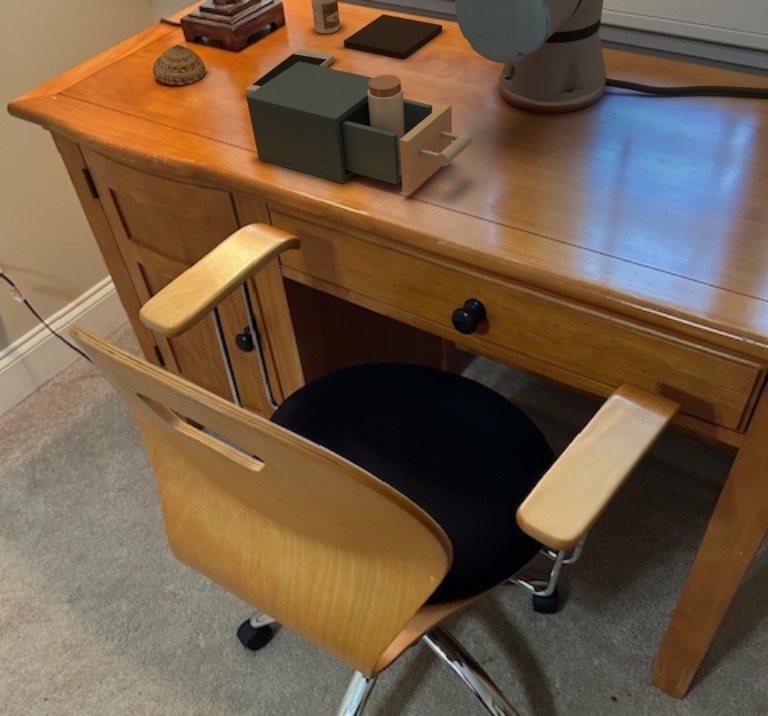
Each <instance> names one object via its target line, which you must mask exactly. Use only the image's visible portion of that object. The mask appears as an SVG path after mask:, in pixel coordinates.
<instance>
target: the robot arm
mask: <svg viewBox="0 0 768 716" xmlns="http://www.w3.org/2000/svg"><path fill="white" fill-rule="evenodd" d="M603 8H604V0H454V11H455V17H456V18H455V19H456V22H457V26H458V28H459V30H460V32H461V34H462V36H463V38H464V39H465V40H467V42H468V44H469V45H470V47H471V49H473V51H474V52H475V53H477V54H479V55H480V57H482V58H484V59H486V60H488V61H491V62H494V63H498V64H504V65H503V67H502V70H501V73H500V77H499V78H500V79H499V93H500V96H501V97H502V99H503V100H504V101H505V102H507V103H508V104H510V105H511V106H513V107H515V108H517V109H521V110H525V111H528V112H534V113H543V114H556V113H557V114H558V113H568V112H573V111H574V112H575V111H578V110H581V109H584V108H586V107H589V106H591V105H593V104H595V103H596V102H598V101H599V99H601V98H602V97H603V95H604V93H605V89H606V87H610V88H617V89H621V90H622V89H623V90H629V91H634V92H638V93H642V94H643V93H644V94H649V95H659V96H677V95H695V94H696V95H697V94H718V95H719V94H721V95H743V96H755V97H768V88H765V87H749V86H734V85H690V86H689V85H687V86H665V87H664V86H655V85H646V84H642V83H638V82H633V81H627V80H620V79H615V78H607V73H606V72H607V71H606V66H605V60H604V53H603V48H602V41H601V36H600V29H601V21H602V14H603Z"/></svg>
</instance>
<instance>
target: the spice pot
mask: <svg viewBox="0 0 768 716" xmlns="http://www.w3.org/2000/svg"><path fill="white" fill-rule="evenodd" d="M368 85H369V89H368V104H369V116H370V127H373V128H377V129H381V130H385V131H389V132H393V133H397V141H398V159H399V162H400V161H401V154H400V139H401V138H402V137H403V136H405V124H404V103H403V99H404V89H403V86H402V81H401V78H400V77H399V76H397V75H393V74H380V75H376V76H374V77H372V79H371V80H370V81H369V83H368Z"/></svg>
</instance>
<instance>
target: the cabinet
mask: <svg viewBox="0 0 768 716" xmlns="http://www.w3.org/2000/svg"><path fill="white" fill-rule="evenodd" d="M372 78H373V77H371V76H367V75H362V74H358V73H353V72H349V71H344V70H339V69H335V68H331V67H328V66H327V67H322V66H318V65H313V64H309V63H304V62H300V61H299V62H297V63H296V64H294V65H293V66H291V67H290V68H288V69H287V70H285V71H284V72H282V73H281V74H279V75H278V76H276V77H275V78H273V79H272V80H270V81H269V82H267V83H266V84H264V85H263V86H261V87H260V88H258V89H257V90H255V91H254V92H252V93H250V94H249V95H248V94H247V95H246V96H245V98H246V102H247V108H248V113H249V118H250V123H251V128H252V133H253V138H254V143H255V149H256V152H257V158H258V160H259V161H262V162H265V163H269V164H272V165H275V166H278V167H279V166H280V167H283V168H287V169H289V170H294V171H296V172H300V173H304V174H307V175H311V176H314V177H317V178H321V179H325V180H328V181H330V182H335V183H338V184H342V185H344V184H345V183H346V182H347V181H349V180H350V179H351V178H352V177H353V176H355V175H356V174H357V173H354V172H350V171H347V170H345V164H344V156H343V147H342V138H341V129H340V122H341V121H343V120H344V119H345V118H346V117H348V116H349V115H350V114H352V113H353V112H354V111H356V110H357V109H358V108H360V107H361V106H362V105H364V104H365V103H366V102H368V89H369V85H368V83H369V81H370V80H371V79H372Z"/></svg>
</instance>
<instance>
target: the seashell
mask: <svg viewBox="0 0 768 716" xmlns="http://www.w3.org/2000/svg"><path fill="white" fill-rule="evenodd" d="M205 74H206V66H205V62H204V61H203V59H202V58H201V56H199V54H197V53H196V52H195V51H193V50H192V49H191V48H188V47H186V46H184V45H181V44H176V45H173V46H171V47H168V48H167V49H166V50H165V51H164V52H163V53H162V54H161V55H159V56H158V57H157V58H156V60H155V61H154V63H153V66H152V75H153V76H154V77H155V79H156V80H158V81H159V82H161V83H163V84H167V85H171V86H186V85H190V84H193V83H196V82H198V81H199V80H201V79H202V78H203V77H204V76H205Z"/></svg>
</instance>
